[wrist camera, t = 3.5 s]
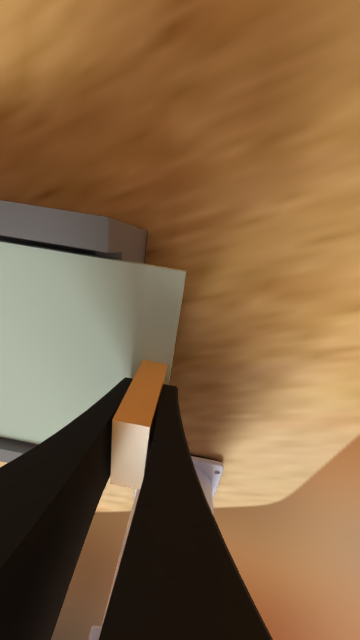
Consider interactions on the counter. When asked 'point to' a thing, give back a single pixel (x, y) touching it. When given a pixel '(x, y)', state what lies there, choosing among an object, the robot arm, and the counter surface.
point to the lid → (85, 345)
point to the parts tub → (71, 236)
